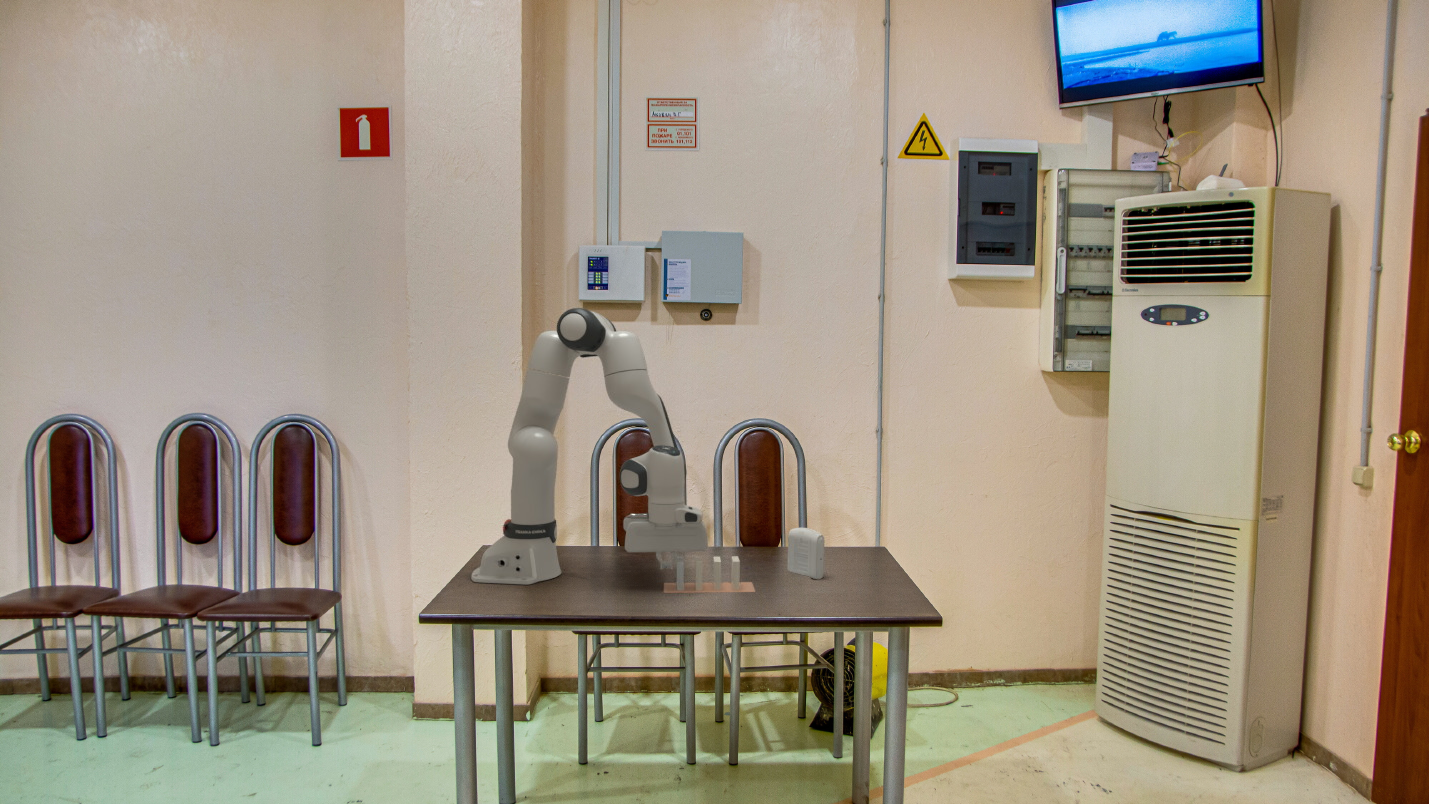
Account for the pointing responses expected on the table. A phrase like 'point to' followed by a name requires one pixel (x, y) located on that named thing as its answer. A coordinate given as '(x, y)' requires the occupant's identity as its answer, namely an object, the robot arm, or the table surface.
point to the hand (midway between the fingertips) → (666, 569)
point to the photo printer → (806, 552)
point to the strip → (708, 588)
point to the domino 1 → (680, 573)
